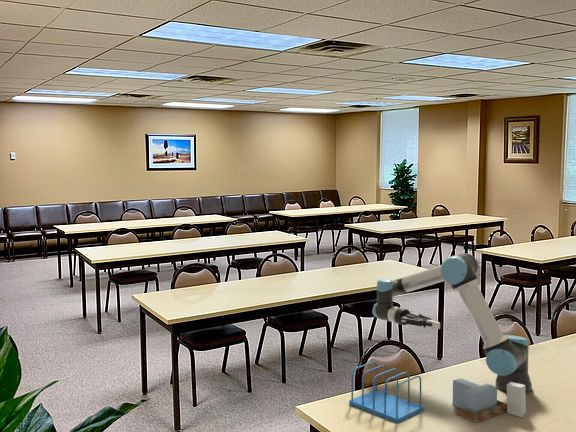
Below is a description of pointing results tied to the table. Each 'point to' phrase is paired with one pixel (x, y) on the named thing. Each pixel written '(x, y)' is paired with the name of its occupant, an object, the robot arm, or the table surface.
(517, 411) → the skincare box
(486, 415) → the brown wooden tray
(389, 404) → the file sorter
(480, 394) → the grey l-shaped block
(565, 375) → the table surface
